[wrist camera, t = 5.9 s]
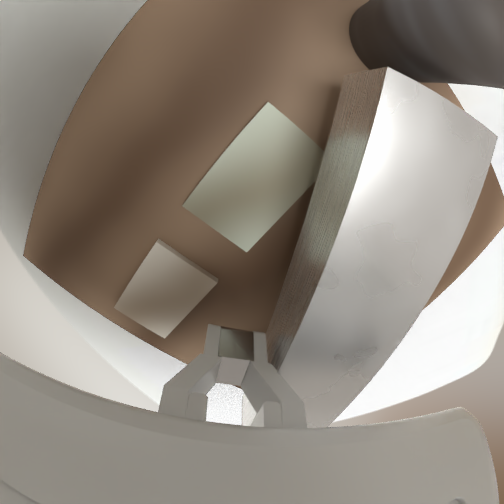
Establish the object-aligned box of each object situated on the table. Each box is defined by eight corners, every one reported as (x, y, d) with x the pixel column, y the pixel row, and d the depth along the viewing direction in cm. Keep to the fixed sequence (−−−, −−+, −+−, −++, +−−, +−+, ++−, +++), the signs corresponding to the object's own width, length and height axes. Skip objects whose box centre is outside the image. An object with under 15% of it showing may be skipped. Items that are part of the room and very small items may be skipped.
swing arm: (344, 75, 7) (387, 66, 4) (440, 120, 7) (497, 136, 5) (237, 410, 16) (236, 450, 13) (295, 413, 16) (299, 451, 14)
